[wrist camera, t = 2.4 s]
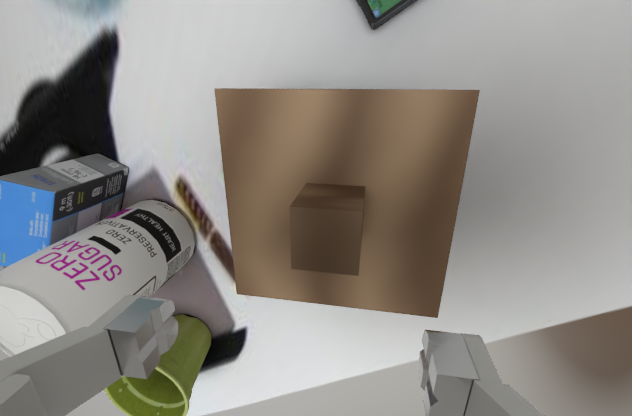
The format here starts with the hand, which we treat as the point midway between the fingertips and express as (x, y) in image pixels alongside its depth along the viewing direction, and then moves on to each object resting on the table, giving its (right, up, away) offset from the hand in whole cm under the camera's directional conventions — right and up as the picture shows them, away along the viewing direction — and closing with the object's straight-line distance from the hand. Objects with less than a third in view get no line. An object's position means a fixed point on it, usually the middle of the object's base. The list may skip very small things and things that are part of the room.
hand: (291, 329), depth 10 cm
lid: (+2, +4, +10) cm, 11 cm away
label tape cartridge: (-22, +5, +24) cm, 33 cm away
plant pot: (-15, -12, +30) cm, 35 cm away
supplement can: (-16, +1, +25) cm, 29 cm away
